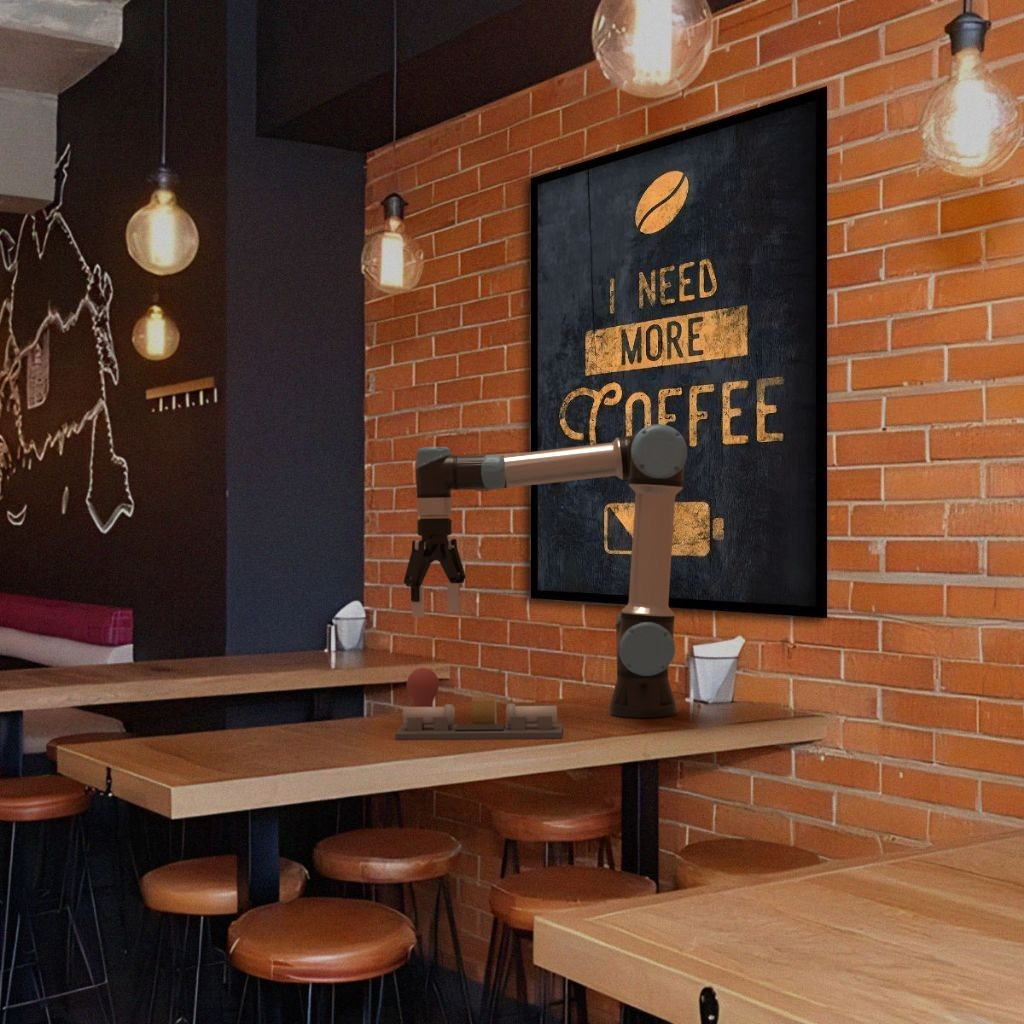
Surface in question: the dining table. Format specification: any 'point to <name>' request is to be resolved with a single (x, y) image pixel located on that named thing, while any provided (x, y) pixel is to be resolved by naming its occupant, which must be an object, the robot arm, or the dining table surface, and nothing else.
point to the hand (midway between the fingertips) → (436, 614)
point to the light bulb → (422, 687)
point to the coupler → (484, 710)
